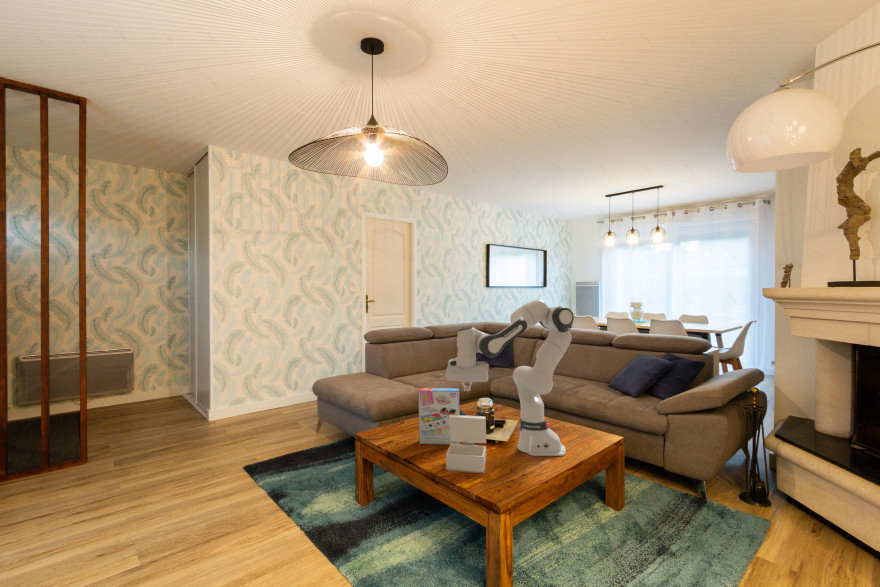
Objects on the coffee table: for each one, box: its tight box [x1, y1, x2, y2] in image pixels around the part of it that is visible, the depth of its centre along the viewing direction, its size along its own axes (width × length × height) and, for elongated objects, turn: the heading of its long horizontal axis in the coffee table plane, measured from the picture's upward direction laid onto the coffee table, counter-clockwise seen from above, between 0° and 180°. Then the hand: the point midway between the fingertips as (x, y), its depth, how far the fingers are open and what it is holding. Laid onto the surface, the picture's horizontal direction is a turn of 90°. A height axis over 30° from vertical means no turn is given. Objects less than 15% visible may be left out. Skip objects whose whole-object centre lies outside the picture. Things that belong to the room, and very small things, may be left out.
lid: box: [449, 414, 487, 445], centre depth 187 cm, size 16×20×9 cm
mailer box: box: [445, 443, 487, 474], centre depth 178 cm, size 16×12×7 cm
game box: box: [417, 387, 461, 445], centre depth 206 cm, size 21×6×27 cm, turn 84°
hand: (467, 390), depth 192 cm, fingers closed
